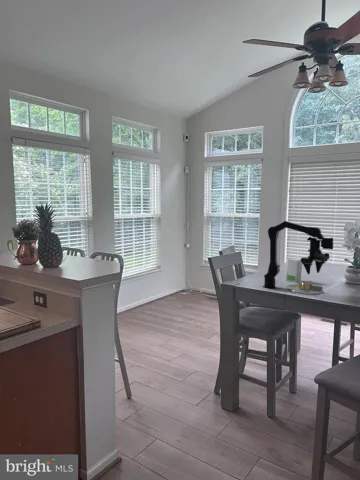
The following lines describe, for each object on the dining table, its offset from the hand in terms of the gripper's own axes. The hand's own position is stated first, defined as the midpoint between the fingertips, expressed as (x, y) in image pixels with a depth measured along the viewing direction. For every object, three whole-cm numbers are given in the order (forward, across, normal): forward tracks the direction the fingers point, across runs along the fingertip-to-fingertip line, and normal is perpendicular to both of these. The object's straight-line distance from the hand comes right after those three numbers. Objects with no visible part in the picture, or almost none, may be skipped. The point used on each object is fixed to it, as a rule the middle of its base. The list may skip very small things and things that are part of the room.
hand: (313, 273), depth 216 cm
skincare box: (+12, +18, +28) cm, 36 cm away
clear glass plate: (+12, +2, +8) cm, 15 cm away
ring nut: (+11, +3, +4) cm, 12 cm away
